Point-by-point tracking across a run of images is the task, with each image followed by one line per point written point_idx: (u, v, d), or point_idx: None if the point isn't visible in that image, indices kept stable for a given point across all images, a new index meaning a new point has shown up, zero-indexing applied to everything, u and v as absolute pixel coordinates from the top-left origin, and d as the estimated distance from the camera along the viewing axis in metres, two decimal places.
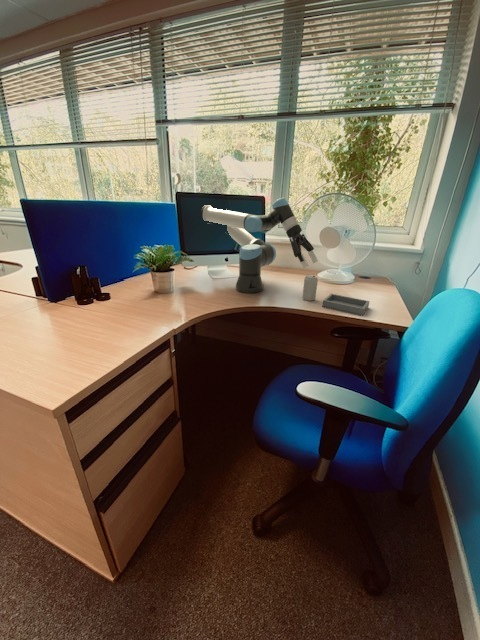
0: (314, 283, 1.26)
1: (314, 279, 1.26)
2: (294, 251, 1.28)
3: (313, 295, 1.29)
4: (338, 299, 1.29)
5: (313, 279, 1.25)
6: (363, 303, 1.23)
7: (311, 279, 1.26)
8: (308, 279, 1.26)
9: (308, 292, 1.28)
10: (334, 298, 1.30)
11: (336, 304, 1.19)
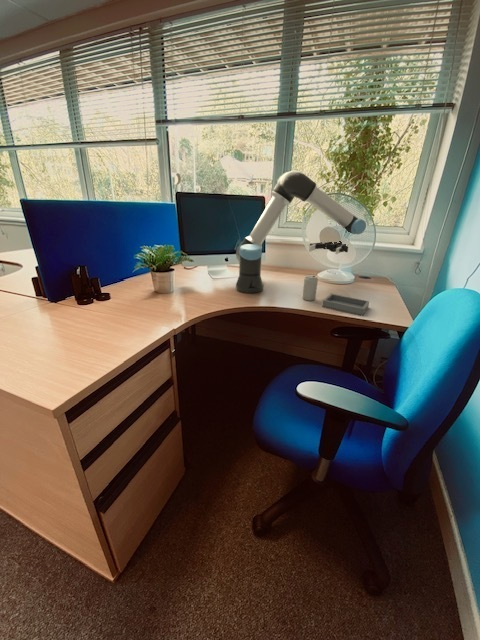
0: (314, 283, 1.26)
1: (314, 279, 1.26)
2: None
3: (313, 295, 1.29)
4: (338, 299, 1.29)
5: (313, 279, 1.25)
6: (363, 303, 1.23)
7: (311, 279, 1.26)
8: (308, 279, 1.26)
9: (308, 292, 1.28)
10: (334, 298, 1.30)
11: (336, 304, 1.19)
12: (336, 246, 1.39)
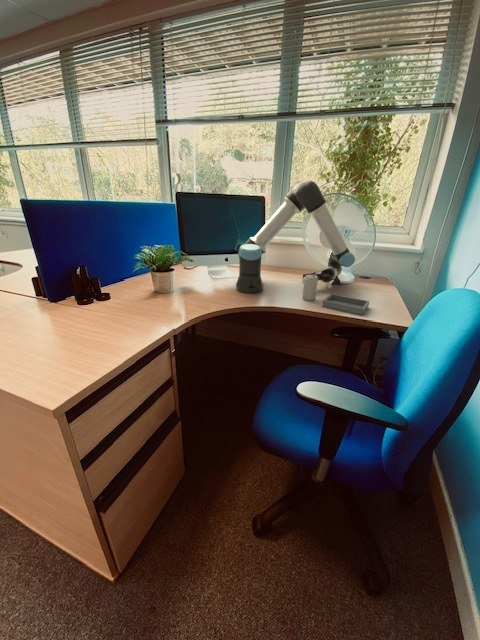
0: (314, 283, 1.26)
1: (314, 279, 1.26)
2: None
3: (313, 295, 1.29)
4: (338, 299, 1.29)
5: (313, 279, 1.25)
6: (363, 303, 1.23)
7: (311, 279, 1.26)
8: (308, 279, 1.26)
9: (308, 292, 1.28)
10: (334, 298, 1.30)
11: (336, 304, 1.19)
12: (329, 278, 1.41)
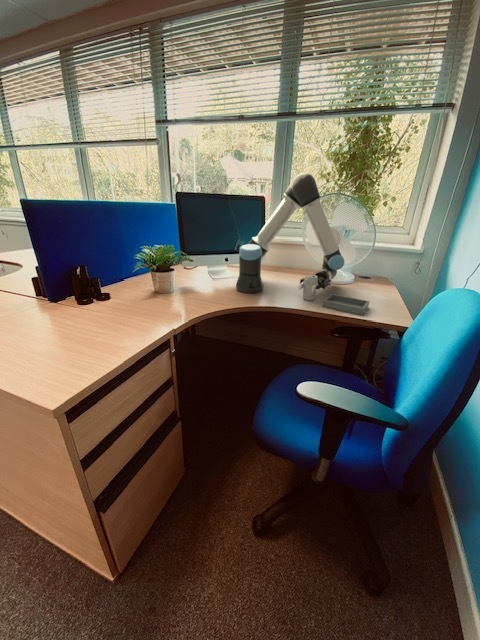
0: (314, 283, 1.26)
1: (314, 279, 1.26)
2: (325, 284, 1.29)
3: (313, 295, 1.29)
4: (338, 299, 1.29)
5: (313, 279, 1.25)
6: (363, 303, 1.23)
7: (311, 279, 1.25)
8: (308, 279, 1.26)
9: (308, 292, 1.28)
10: (334, 298, 1.30)
11: (336, 304, 1.19)
12: (319, 281, 1.35)
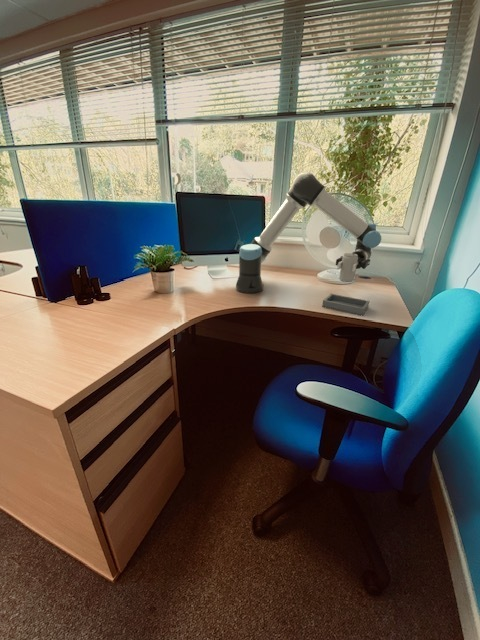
0: (354, 262, 1.13)
1: (354, 257, 1.13)
2: (366, 264, 1.16)
3: (352, 276, 1.16)
4: (338, 299, 1.29)
5: (353, 257, 1.12)
6: (363, 303, 1.23)
7: (351, 257, 1.12)
8: (348, 257, 1.13)
9: (348, 272, 1.15)
10: (334, 298, 1.30)
11: (336, 304, 1.19)
12: (357, 261, 1.22)
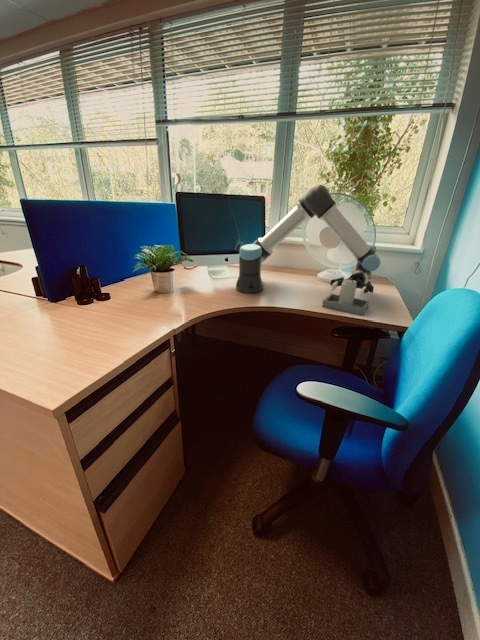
0: (353, 289, 1.17)
1: (353, 284, 1.16)
2: None
3: (351, 302, 1.19)
4: (338, 299, 1.29)
5: (352, 284, 1.16)
6: (363, 303, 1.23)
7: (350, 284, 1.16)
8: (347, 284, 1.17)
9: (346, 298, 1.19)
10: (334, 298, 1.30)
11: (336, 304, 1.19)
12: (359, 284, 1.24)
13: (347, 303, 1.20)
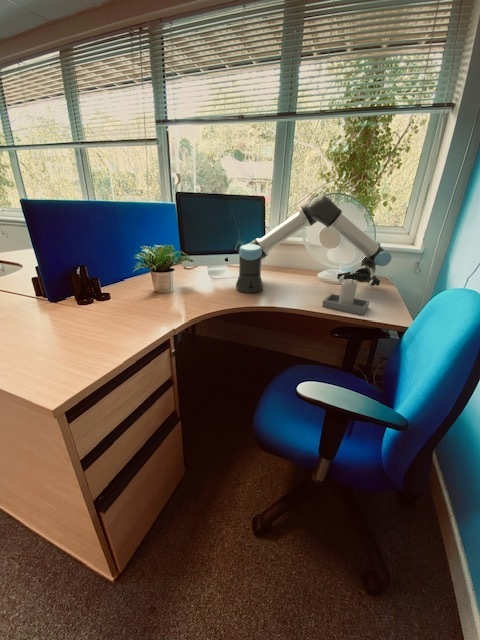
0: (353, 289, 1.17)
1: (353, 285, 1.16)
2: None
3: (351, 302, 1.19)
4: (338, 299, 1.29)
5: (352, 285, 1.16)
6: (363, 303, 1.23)
7: (350, 285, 1.16)
8: (347, 285, 1.17)
9: (346, 298, 1.19)
10: (334, 298, 1.30)
11: (336, 304, 1.19)
12: (366, 278, 1.34)
13: (347, 303, 1.20)
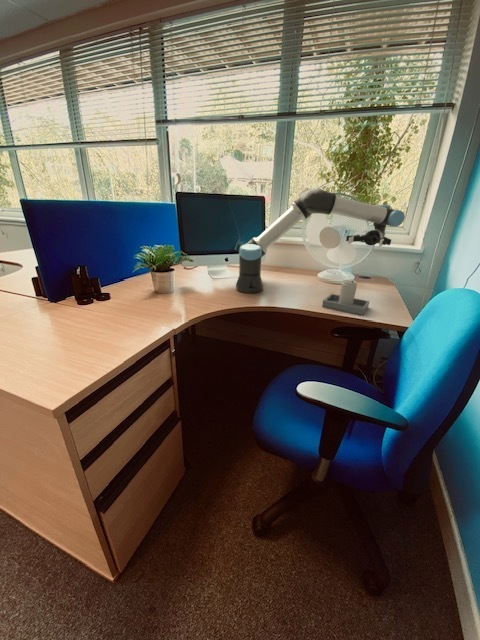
0: (353, 289, 1.17)
1: (353, 284, 1.16)
2: None
3: (351, 302, 1.19)
4: (338, 299, 1.29)
5: (352, 285, 1.16)
6: (363, 303, 1.23)
7: (350, 285, 1.16)
8: (347, 285, 1.17)
9: (346, 298, 1.19)
10: (334, 298, 1.30)
11: (336, 304, 1.19)
12: (376, 239, 1.30)
13: (347, 303, 1.20)
